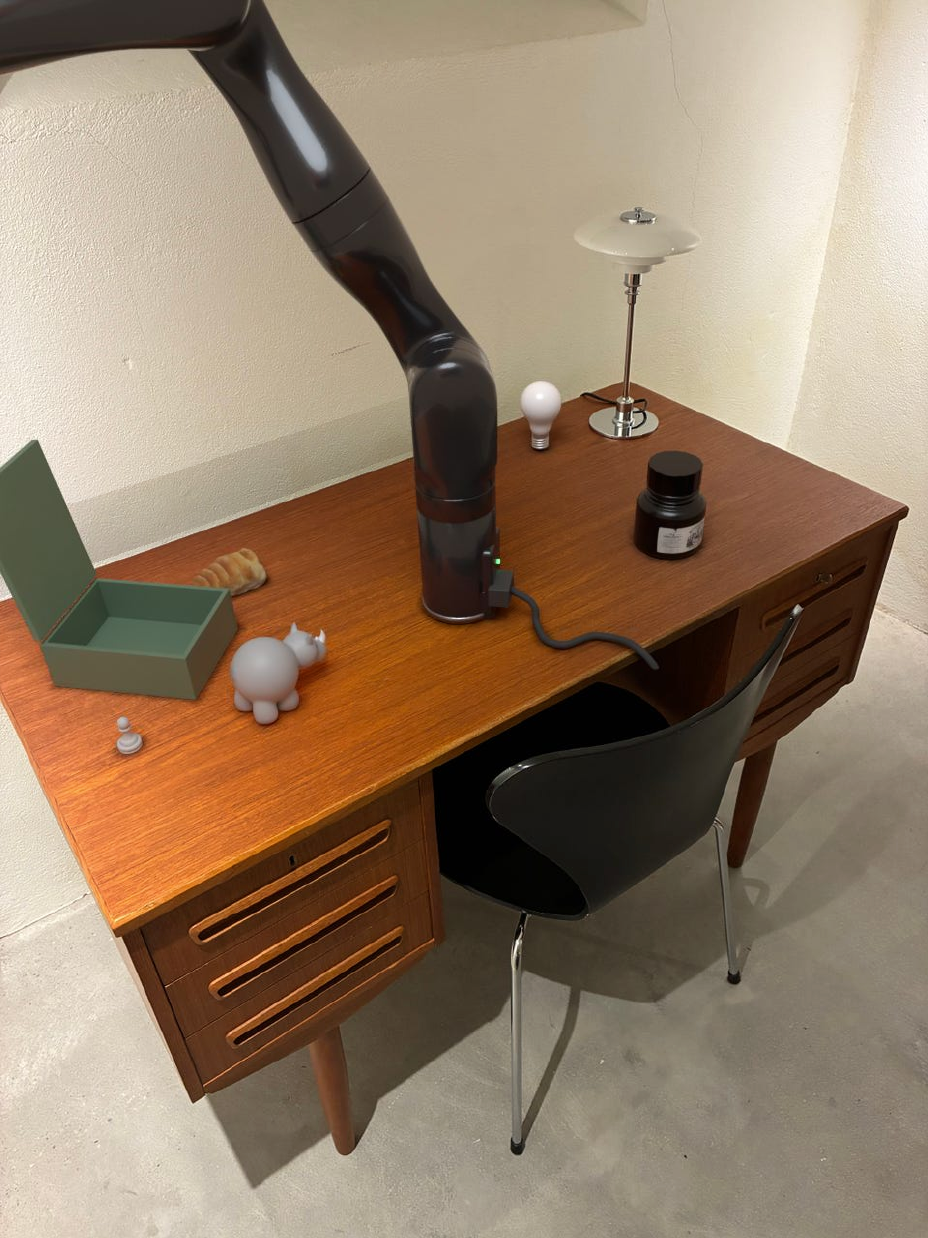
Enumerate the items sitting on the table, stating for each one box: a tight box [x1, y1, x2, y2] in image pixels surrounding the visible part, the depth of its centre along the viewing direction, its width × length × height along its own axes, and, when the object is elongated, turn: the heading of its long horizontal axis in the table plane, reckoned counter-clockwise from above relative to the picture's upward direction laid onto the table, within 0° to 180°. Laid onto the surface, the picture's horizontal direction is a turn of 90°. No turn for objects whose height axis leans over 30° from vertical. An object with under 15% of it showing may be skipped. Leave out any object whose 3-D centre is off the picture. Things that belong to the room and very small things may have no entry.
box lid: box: [0, 439, 98, 643], centre depth 109 cm, size 18×13×1 cm
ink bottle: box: [633, 450, 707, 560], centre depth 129 cm, size 10×9×12 cm
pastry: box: [189, 547, 267, 597], centre depth 127 cm, size 9×7×4 cm
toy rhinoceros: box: [229, 622, 327, 725], centre depth 108 cm, size 7×12×8 cm, turn 135°
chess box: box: [39, 577, 239, 701], centre depth 115 cm, size 17×13×6 cm
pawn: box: [116, 716, 144, 755], centre depth 104 cm, size 3×3×4 cm
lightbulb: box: [519, 380, 563, 451], centre depth 152 cm, size 6×6×11 cm
